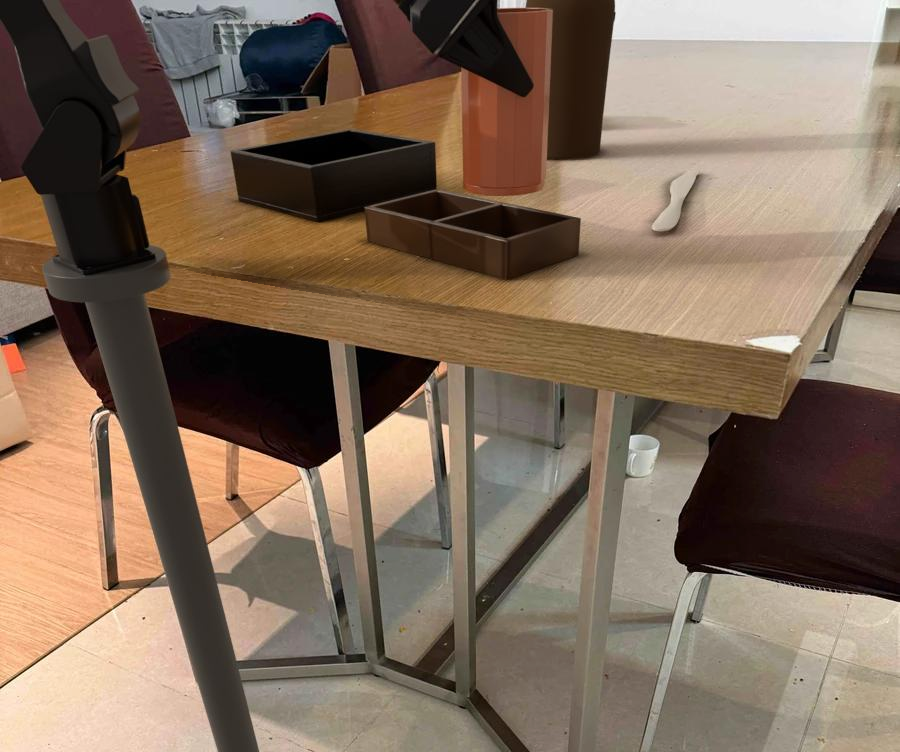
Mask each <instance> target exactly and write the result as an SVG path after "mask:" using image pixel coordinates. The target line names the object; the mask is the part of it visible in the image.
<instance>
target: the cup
mask: <svg viewBox="0 0 900 752" xmlns="http://www.w3.org/2000/svg"><path fill="white" fill-rule="evenodd" d="M497 16H498V19H499V21H500V23H501V25H502V26H503V28H504V30H505V32H506V34H507V36H508V38H509V40H510V41H511V43H512V45H513V47H514V49H515V51H516V52H517V54H518V56H519V58H520V60H521V62H522V63H523V65H524V67H525V69H526V71H527V73H528V74H529V76H530V78H531V80H532V82H533V84H534V87H533V89H532V90H531V91H530V93H529V94H528V95H527V96H526V97H521V96H519V95H517V94H515V93H513V92H511V91H509V90H507V89H505V88H503V87H501V86H499V85H497V84H495V83H493V82H491V81H489V80H487V79H485V78H482V77H480V76H478V75H476V74H474V73H472V72H470V71H468V70H466V69H463V68H461V67H460V69H461V70H460V72H461V74H460V75H461V133H462V135H461V137H462V138H461V140H462V143H461V144H462V189H463V190H464V191H466V192H468V193H470V194H474V195H478V196H479V195H480V196H487V197H488V196H489V197H511V196H512V197H513V196H523V195H530V194H534V193H537V192H540V191H542V190H544V189H545V187H546V180H547V167H548V166H547V163H548V159H547V142H548V118H549V93H550V68H551V44H552V19H553V10H552V9H549V8H525V7H497Z"/></svg>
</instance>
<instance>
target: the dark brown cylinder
mask: <svg viewBox="0 0 900 752" xmlns="http://www.w3.org/2000/svg"><path fill="white" fill-rule="evenodd" d="M524 8H549V9H552V10H553V19H552V44H551V68H550V93H549V118H548V142H547V160H574V159H575V160H576V159H583V158H588V157H592V156H595V155H597V154H599V153H600V151H601V143H602V133H603V124H604V123H603V121H604V112H605V104H606V103H605V102H606V93H607V83H608V77H609V76H608V75H609V69H610V68H609V67H610V59H611V58H610V57H611V48H612V42H613V41H612V40H613V33H614V24H615V20H616V14H617V12H616V0H526V2H525V7H524Z"/></svg>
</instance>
